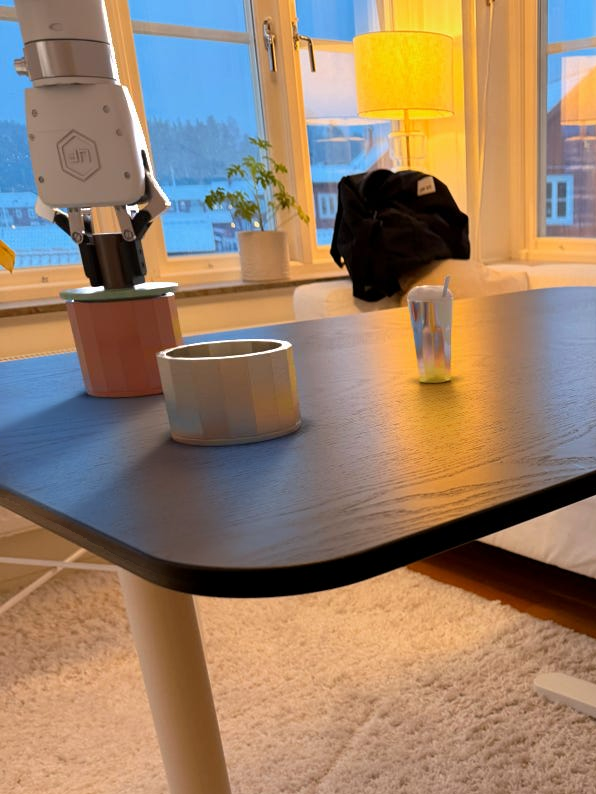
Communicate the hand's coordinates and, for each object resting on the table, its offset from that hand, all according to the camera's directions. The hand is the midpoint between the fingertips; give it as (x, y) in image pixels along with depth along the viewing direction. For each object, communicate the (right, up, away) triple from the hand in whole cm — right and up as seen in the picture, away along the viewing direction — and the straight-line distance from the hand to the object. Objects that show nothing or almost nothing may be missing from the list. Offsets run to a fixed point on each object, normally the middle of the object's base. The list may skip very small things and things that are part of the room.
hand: (118, 283), depth 89 cm
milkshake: (+32, -10, +1) cm, 34 cm away
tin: (+16, -19, -16) cm, 30 cm away
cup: (0, -9, +5) cm, 10 cm away
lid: (0, -1, 0) cm, 1 cm away
